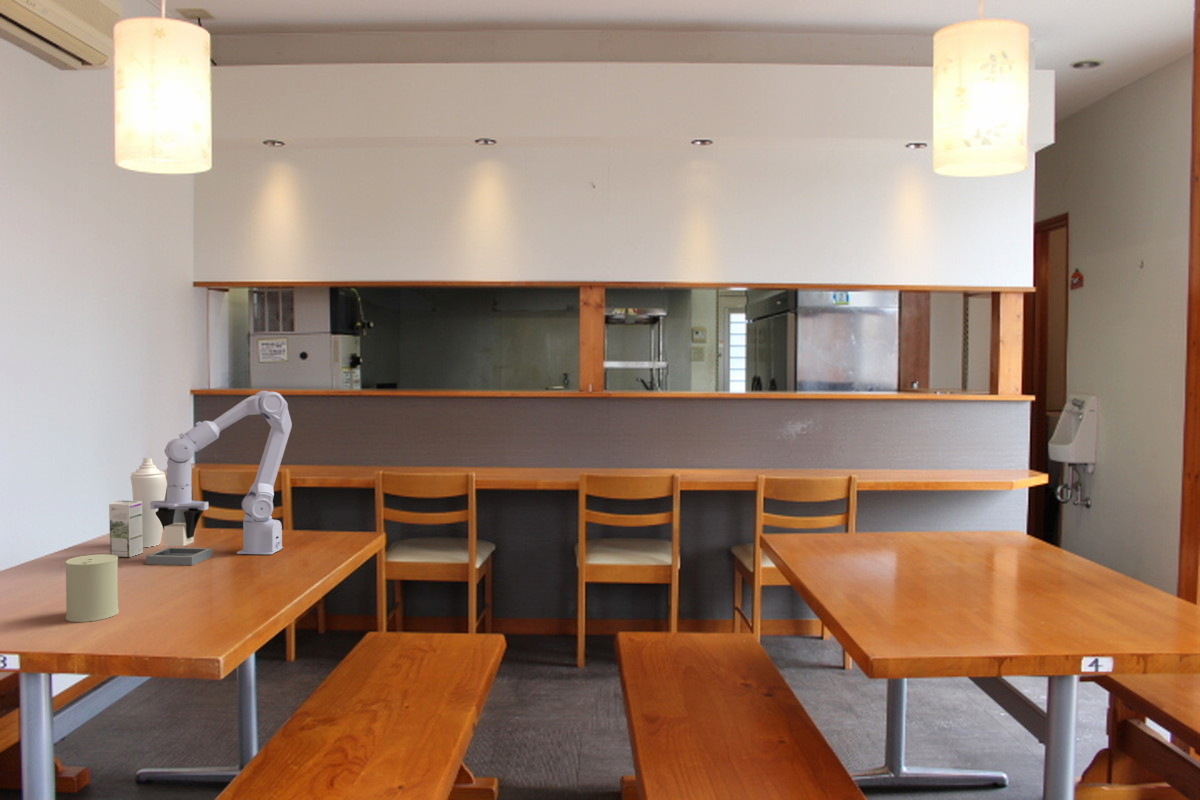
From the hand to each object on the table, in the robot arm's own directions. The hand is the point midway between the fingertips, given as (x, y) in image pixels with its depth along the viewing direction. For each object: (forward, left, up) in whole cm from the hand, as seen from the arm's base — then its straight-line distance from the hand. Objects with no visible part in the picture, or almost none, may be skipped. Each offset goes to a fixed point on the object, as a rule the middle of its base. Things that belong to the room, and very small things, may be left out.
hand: (179, 536), depth 214 cm
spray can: (+19, -16, -6) cm, 26 cm away
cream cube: (0, 0, -2) cm, 2 cm away
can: (-9, +47, -6) cm, 48 cm away
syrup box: (+17, -4, -6) cm, 19 cm away
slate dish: (0, 0, -6) cm, 6 cm away
